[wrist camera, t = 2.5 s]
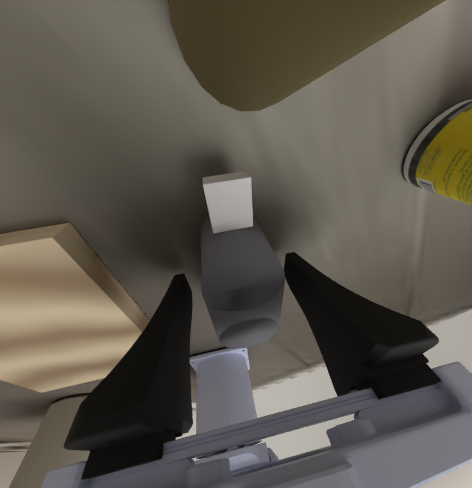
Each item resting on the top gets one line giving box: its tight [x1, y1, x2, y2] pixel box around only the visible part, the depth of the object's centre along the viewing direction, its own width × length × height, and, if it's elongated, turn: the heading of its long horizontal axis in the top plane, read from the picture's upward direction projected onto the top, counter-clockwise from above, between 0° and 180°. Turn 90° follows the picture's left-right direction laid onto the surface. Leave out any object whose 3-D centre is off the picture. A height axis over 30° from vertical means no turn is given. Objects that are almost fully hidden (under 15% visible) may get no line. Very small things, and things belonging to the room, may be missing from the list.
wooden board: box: [0, 223, 150, 392], centre depth 14 cm, size 18×14×2 cm
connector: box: [201, 171, 285, 349], centre depth 11 cm, size 11×4×5 cm, turn 6°
